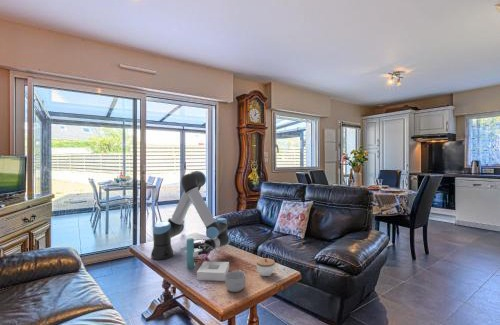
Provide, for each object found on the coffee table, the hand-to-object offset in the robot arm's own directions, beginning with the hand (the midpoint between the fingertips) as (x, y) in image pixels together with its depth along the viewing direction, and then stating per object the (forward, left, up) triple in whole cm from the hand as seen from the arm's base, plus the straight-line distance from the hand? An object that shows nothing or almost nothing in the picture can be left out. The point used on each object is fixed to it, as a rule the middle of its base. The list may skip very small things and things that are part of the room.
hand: (186, 252), depth 170 cm
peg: (-3, +2, -11) cm, 11 cm away
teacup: (+22, +35, -11) cm, 43 cm away
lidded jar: (+4, +50, -11) cm, 51 cm away
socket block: (+6, +19, -11) cm, 22 cm away
